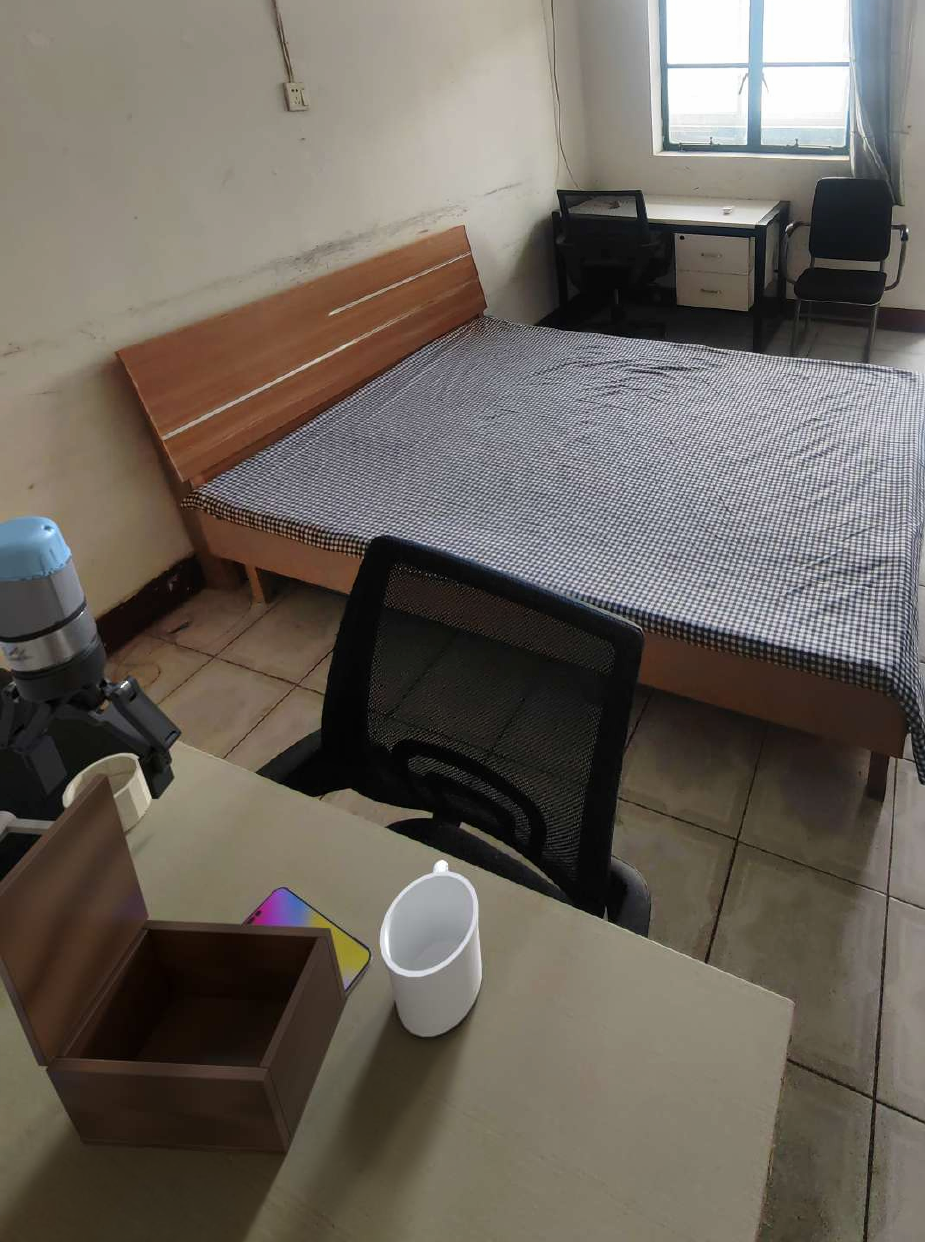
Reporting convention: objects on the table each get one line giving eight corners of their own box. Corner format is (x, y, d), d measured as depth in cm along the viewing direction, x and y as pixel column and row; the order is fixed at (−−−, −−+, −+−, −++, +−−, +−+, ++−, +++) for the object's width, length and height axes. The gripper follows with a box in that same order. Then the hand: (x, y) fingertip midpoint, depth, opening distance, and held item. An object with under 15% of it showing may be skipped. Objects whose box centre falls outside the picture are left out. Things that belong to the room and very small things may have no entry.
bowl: (60, 845, 80) (45, 809, 78) (110, 786, 87) (98, 751, 85) (121, 847, 80) (107, 811, 78) (167, 788, 87) (155, 753, 85)
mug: (482, 1035, 64) (473, 967, 61) (383, 1055, 63) (368, 985, 60) (491, 909, 75) (484, 843, 71) (407, 923, 73) (395, 857, 70)
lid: (107, 772, 57) (13, 765, 57) (-17, 913, 47) (-131, 904, 48) (149, 916, 64) (64, 909, 64) (47, 1067, 54) (-54, 1058, 54)
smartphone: (313, 1035, 64) (215, 950, 70) (314, 1039, 64) (216, 955, 70) (376, 952, 70) (281, 882, 76) (377, 957, 70) (282, 886, 77)
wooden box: (347, 998, 67) (330, 927, 63) (286, 1155, 57) (262, 1081, 53) (173, 990, 67) (146, 919, 64) (82, 1144, 57) (44, 1070, 54)
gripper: (-91, 673, 72) (-22, 813, 79) (138, 679, 71) (187, 820, 78) (-21, 621, 79) (37, 755, 86) (188, 626, 78) (229, 761, 85)
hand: (108, 786), depth 82 cm, fingers open, 13 cm apart
